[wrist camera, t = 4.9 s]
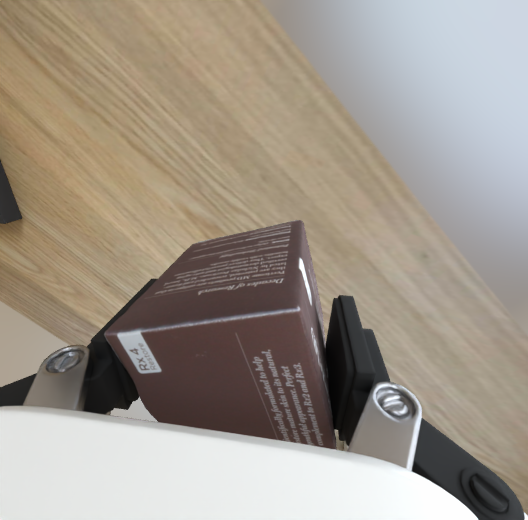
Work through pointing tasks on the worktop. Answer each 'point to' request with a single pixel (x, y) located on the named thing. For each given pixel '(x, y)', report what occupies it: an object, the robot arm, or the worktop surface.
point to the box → (234, 339)
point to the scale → (7, 201)
